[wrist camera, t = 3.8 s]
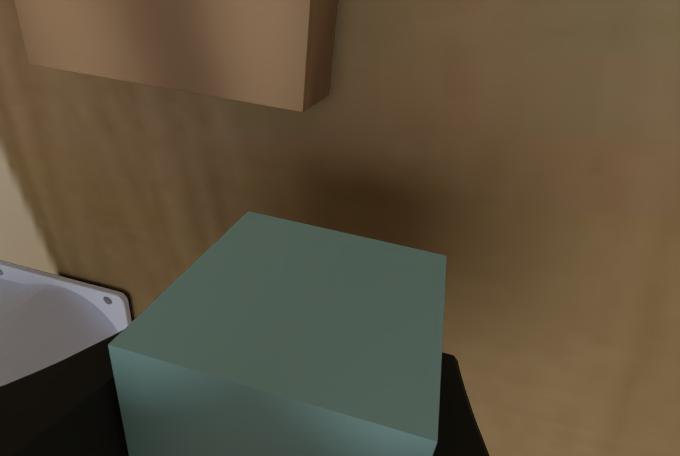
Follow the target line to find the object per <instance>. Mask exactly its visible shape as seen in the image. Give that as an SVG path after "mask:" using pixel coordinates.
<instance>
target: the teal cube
mask: <svg viewBox="0 0 680 456" xmlns="http://www.w3.org/2000/svg"><path fill="white" fill-rule="evenodd" d="M446 259H447V256H446V255H442V254H437V253H433V252H428V251H424V250H419V249H415V248H410V247H406V246H402V245H397V244H393V243H388V242H384V241H379V240H375V239H370V238H366V237H362V236H357V235H353V234H348V233H344V232H339V231H335V230H330V229H326V228H321V227H317V226H313V225H308V224H304V223H299V222H295V221H290V220H286V219H281V218H277V217H273V216H268V215H264V214H259V213H255V212H250V211H248V212H247V213H246V214H245V215H243V216H242V217H241V218H240V219H239V220H238V221H237V222H236V223H235V224H234V225H233V226H232V227H231V228H230V229H229V230H228V231H227V232H226V233H225V234H224V235H223V236H221V237H220V238H219V239H218V240H217V241H216V242H215V243H214V244H213V245H212V246H211V247H210V248H209V249H208V250H207V251H206V252H205V253H204V254H203V255H202V256H200V257H199V258H198V259H197V260H196V261H195V262H194V263H193V264H192V265H191V266H190V267H189V268H188V269H187V270H186V271H185V272H184V273H183V274H182V275H181V276H179V277H178V278H177V279H176V280H175V281H174V282H173V283H172V284H171V285H170V286H169V287H168V288H167V289H166V290H165V291H164V292H163V293H162V294H161V295H160V296H159V297H157V298H156V299H155V300H154V301H153V302H152V303H151V304H150V305H149V306H148V307H147V308H146V309H145V310H144V311H143V312H142V313H141V314H140V315H139V316H138V317H136V318H135V319H134V320H133V321H132V322H131V323H130V324H129V325H128V326H127V327H126V328H125V329H124V330H123V331H122V332H121V333H120V334H119V335H118V336H117V337H115V338H114V339H113V340H112V341H111V342H110V343H109V344H108V348H109V353H110V359H111V364H112V369H113V374H114V380H115V385H116V390H117V395H118V401H119V406H120V411H121V417H122V422H123V427H124V432H125V438H126V443H127V448H128V453H129V456H433V453H434V450H435V447H436V445H437V442H438V422H439V402H440V381H441V361H442V341H443V320H444V300H445V279H446Z"/></svg>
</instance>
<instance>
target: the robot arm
mask: <svg viewBox="0 0 680 456" xmlns="http://www.w3.org/2000/svg"><path fill="white" fill-rule="evenodd" d="M131 322H132V321H131V315H130V309H129V303H128V299H127V297H126V296H125V295H124V294H123V293H121V292H119V291H115V290H111V289H107V288H104V287H100V286H96V285H92V284H88V283H85V282H81V281H77V280H73V279H69V278H66V277H62V276H58V275H54V274H51V273H47V272H43V271H39V270H35V269H31V268H28V267H24V266H20V265H16V264H13V263H8V262H5V261H1V260H0V456H129V453H128V448H127V443H126V438H125V432H124V427H123V422H122V417H121V411H120V406H119V401H118V395H117V390H116V385H115V380H114V374H113V369H112V364H111V359H110V353H109V348H108V344H109V343H110V342H111V341H112V340H113V339H114V338H115V337H117V336H118V335H119V334H120V333H121V332H122V331H123V330H124V329H125V328H126V327H127V326H128V325H129V324H130V323H131ZM433 456H489V453H488V451H487V448H486V446H485V443H484V441H483V438H482V435H481V433H480V430H479V428H478V425H477V423H476V420H475V417H474V414H473V411H472V408H471V405H470V402H469V399H468V396H467V393H466V390H465V387H464V384H463V380H462V377H461V373H460V369H459V365H458V361H457V359H456V358H455V356H453V355H449V354H446V353H442V361H441V381H440V402H439V422H438V442H437V445H436V447H435V450H434V453H433Z"/></svg>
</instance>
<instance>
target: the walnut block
mask: <svg viewBox="0 0 680 456" xmlns="http://www.w3.org/2000/svg"><path fill="white" fill-rule="evenodd" d="M14 1H15V5H16V10H17V14H18V19H19V23H20V28H21V32H22V36H23V41H24V45H25V50H26V54H27V59H28V63H29V64H32V65H38V66H44V67H50V68H55V69H61V70H67V71H72V72H78V73H84V74H89V75H95V76H101V77H106V78H112V79H118V80H123V81H129V82H135V83H140V84H146V85H152V86H157V87H163V88H169V89H174V90H180V91H186V92H191V93H197V94H203V95H208V96H214V97H220V98H225V99H231V100H237V101H242V102H248V103H254V104H259V105H265V106H271V107H276V108H282V109H288V110H293V111H299V112H303V111H305V110H306V109H308V108H309V107H311V106H312V105H314V104H315V103H317V102H318V101H320V100H321V99H323V98H324V97H326V96H327V95H329V86H330V75H331V65H332V55H333V44H334V34H335V24H336V14H337V3H338V0H14Z"/></svg>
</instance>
